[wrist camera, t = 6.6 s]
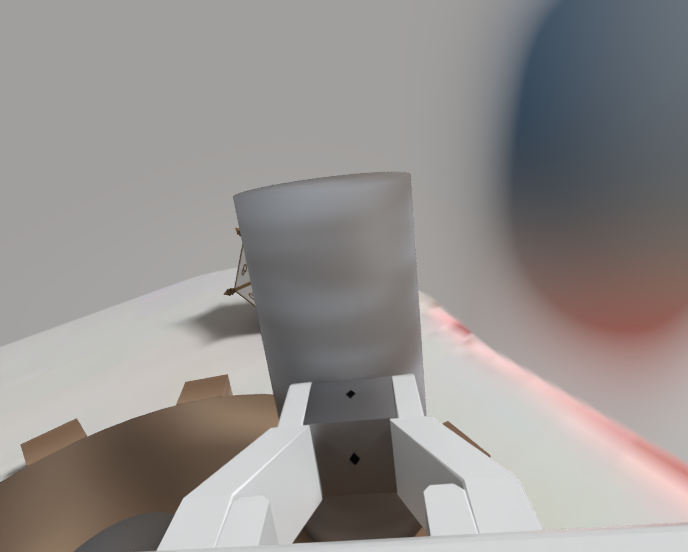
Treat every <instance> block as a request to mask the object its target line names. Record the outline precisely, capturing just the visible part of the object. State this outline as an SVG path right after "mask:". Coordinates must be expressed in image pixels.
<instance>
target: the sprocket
mask: <svg viewBox="0 0 688 552" xmlns="http://www.w3.org/2000/svg"><path fill="white" fill-rule="evenodd" d="M233 199H234V204H235V209H236V214H237V219H238V224H239V228H240V233H241V238H242V243H243V248H244V253H245V258H246V263H247V267H248V272H249V277H250V282H251V287H252V292H253V297H254V302H255V306H256V311H257V316H258V321H259V326H260V331H261V336H262V341H263V345H264V350H265V355H266V360H267V365H268V370H269V375H270V380H271V384H272V389H273V394H274V395H271V394H253V395H235V396H233V395H232V391H231V386H230V382H229V378H228V374H227V375H221V376H216V377H210V378H205V379H199V380H194V381H189V382H185V384H184V387H183V389H182V392H181V394H180V397H179V399H178V401H177V404H176V406H173V407H169V408H165V409H161V410H158V411H155V412H152V413H148V414H145V415H142V416H139V417H136V418H133V419H130V420H128V421H125V422H122V423H120V424H117V425H115V426H112V427H109V428H107V429H104V430H102V431H100V432H97V433H95V434H93V435H91V436H88V437H87V435H86V433H85V432H84V430H83V428H82V427H81V425H80V423H79V421H78V420H77V418H76V419H74V420H72V421H70V422H68V423H66V424H63V425H61V426H59V427H57V428H55V429H53V430H51V431H48V432H46V433H44V434H42V435H40V436H38V437H36V438H34V439H31V440H29V441H27V442H25V443H23V444H21V448H22V451H23V455H24V458H25V461H26V465H27V467H26V468H25V469H23V470H21V471H19V472H18V473H16V474H14V475H12V476H11V477H9V478H7V479H5V480H3V481H2V482H0V552H146V551H157V549H158V547H159V545H160V543H161V541H162V539H163V537H164V535H165V533H166V531H167V529H168V527H169V525H170V523H171V521H172V519H173V517H174V515H175V513H176V511H177V510H178V508H179V506H180V504H181V502H182V500H183V498H184V497H186V496H187V495H188V494H189V493H191V492H192V491H193V490H194V489H196V488H197V487H198V486H199V485H201V484H202V483H203V482H204V481H206V480H207V479H208V478H209V477H210V476H212V475H213V474H214V473H215V472H217V471H218V470H219V469H220V468H222V467H223V466H224V465H225V464H227V463H228V462H229V461H230V460H232V459H233V458H234V457H235V456H237V455H238V454H239V453H240V452H242V451H243V450H244V449H245V448H247V447H248V446H249V445H250V444H252V443H253V442H254V441H255V440H257V439H258V438H259V437H260V436H261V435H263V434H264V433H265V432H266V431H268V430H269V429H270V428H276V427H277V426H278V422H279V419H280V416H281V412H282V409H283V406H284V402H285V399H286V396H287V392H288V389H289V386H290V385H291V384H296V383H306V382H312V383H313V382H323V381H339V380H359V379H368V378H377V377H387V376H391V378H392V376H395V375H403V374H411V373H412V374H414V376H415V380H416V384H417V389H418V393H419V397H420V401H421V405H422V409H423V413H424V416H426V402H425V386H424V371H423V356H422V341H421V325H420V310H419V295H418V280H417V265H416V249H415V235H414V219H413V205H412V190H411V174H410V173H406V172H375V173H360V174H350V175H340V176H331V177H323V178H316V179H308V180H302V181H294V182H289V183H282V184H277V185H271V186H266V187H261V188H257V189H253V190H249V191H245V192H242V193H239V194H236V195H234V196H233ZM443 425H444V426H446V427H447V428H448V429H450V430H451V431H453V432H454V433H456V434H457V435H458V436H460V437H461V438H463V439H464V440H465V441H467V442H468V443H470V444H471V445H473V446H474V447H475V448H477V449H478V450H480V451H481V452H482V453H484V454H485V455H487V456H488V457H490V455H489V454H488V453H487V452H486V451H484V450H483V449H482V448H481V447H479V446H478V445H477V444H476V443H474V442H473V441H472V440H471V439H470V438H468V437H467V436H466V435H465V434H463V433H462V432H461V431H460V430H458V429H457V428H456V427H455V426H453V425H452V424H451V423H450V422H449V421H447V422H445V423H443ZM424 536H427V532H426V531H425V529H424V528H423V527H422V525H421V524H420V523H419V522H418V520H417V519H416V518H415V516H414V515H413V514H412V513H411V511H410V510H409V509H408V507H407V506H406V505H405V504H404V502H403V501H402V500H401V498H400V497H399V496H398V494H397V493H375V494H354V495H343V496H332V497H322V501H321V502H320V504H319V505H318V507H317V508H316V510H315V511H314V513H313V514H312V515H311V517H310V518H309V520H308V521H307V523H306V524H305V526H304V527H303V528H302V530H301V531H300V533H299V534H298V536H297V537H296V539H295V540H294V541H293V543H292V544H297V543H315V542H333V541H351V540H369V539H387V538H405V537H424Z"/></svg>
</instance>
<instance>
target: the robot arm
mask: <svg viewBox="0 0 688 552" xmlns="http://www.w3.org/2000/svg"><path fill="white" fill-rule="evenodd" d="M375 493H397V494H398V496H399V497H400V498H401V500H402V501H403V502H404V504H405V505H406V506H407V507H408V509H409V510H410V511H411V513H412V514H413V515H414V516H415V518H416V519H417V520H418V522H419V523H420V524H421V525H422V527H423V528H424V529H425V531H426V532H427V536H424V537H405V538H387V539H369V540H351V541H333V542H315V543H297V544H292V543H293V541H294V540H295V539H296V537H297V536H298V534H299V533H300V531H301V530H302V528H303V527H304V526H305V524H306V523H307V521H308V520H309V518H310V517H311V515H312V514H313V513H314V511H315V510H316V508H317V507H318V505H319V504H320V502H321V501H322V497H332V496H343V495H354V494H375ZM146 552H688V522H684V523H666V524H649V525H632V526H613V527H594V528H575V529H556V530H543V527H542V525H541V523H540V521H539V519H538V517H537V515H536V513H535V511H534V509H533V507H532V505H531V502H530V500H529V498H528V496H527V494H526V492H525V490H524V488H523V486H522V484H521V482H520V480H519V478H518V477H517V476H515V475H514V474H512V473H511V472H509V471H508V470H507V469H505V468H504V467H502V466H501V465H500V464H498V463H497V462H495V461H494V460H492V459H491V458H490V457H488V456H487V455H485V454H484V453H482V452H481V451H480V450H478V449H477V448H475V447H474V446H473V445H471V444H470V443H468V442H467V441H465V440H464V439H463V438H461V437H460V436H458V435H457V434H456V433H454V432H453V431H451V430H450V429H448V428H447V427H446V426H444V425H443V424H441V423H440V422H439V421H437V420H436V419H434V418H433V417H431V416H424V413H423V409H422V405H421V401H420V397H419V393H418V389H417V384H416V380H415V376H414V374H412V373H411V374H403V375H395V376H392V378H391V376H387V377H377V378H368V379H359V380H339V381H323V382H313V383H312V382H306V383H296V384H291V385H290V386H289V389H288V392H287V396H286V399H285V402H284V406H283V409H282V412H281V416H280V419H279V422H278V426H277V427H276V428H270V429H269V430H268V431H266V432H265V433H264V434H263V435H261V436H260V437H259V438H258V439H257V440H255V441H254V442H253V443H252V444H250V445H249V446H248V447H247V448H245V449H244V450H243V451H242V452H240V453H239V454H238V455H237V456H235V457H234V458H233V459H232V460H230V461H229V462H228V463H227V464H225V465H224V466H223V467H222V468H220V469H219V470H218V471H217V472H215V473H214V474H213V475H212V476H210V477H209V478H208V479H207V480H206V481H204V482H203V483H202V484H201V485H199V486H198V487H197V488H196V489H194V490H193V491H192V492H191V493H189V494H188V495H187V496H186V497H184V498H183V500H182V502H181V504H180V506H179V508H178V510H177V511H176V513H175V515H174V517H173V519H172V521H171V523H170V525H169V527H168V529H167V531H166V533H165V535H164V537H163V539H162V541H161V543H160V545H159V547H158V549H157V551H146Z"/></svg>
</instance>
